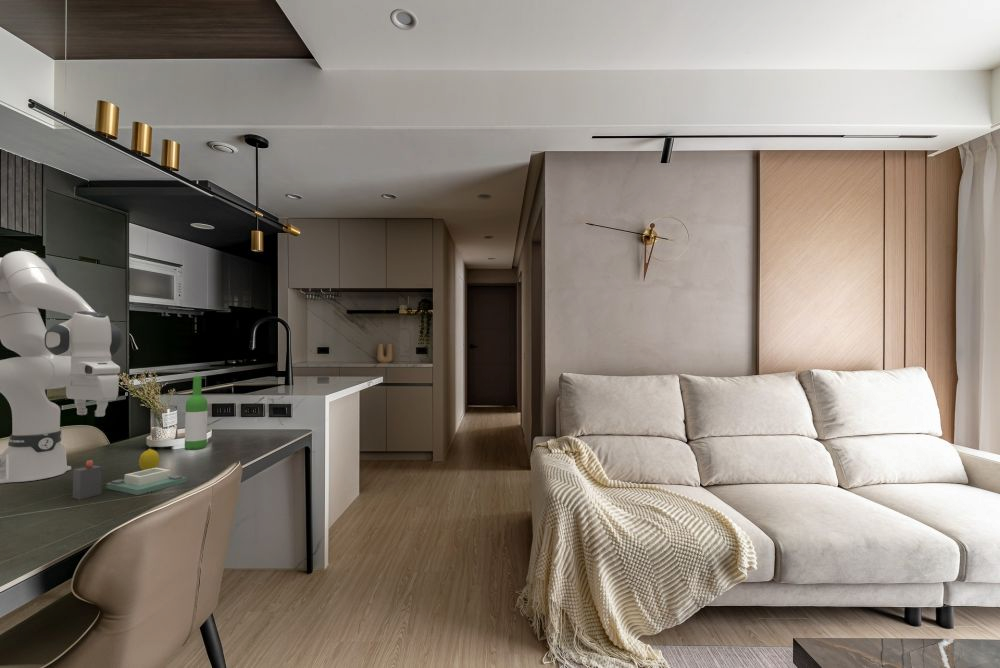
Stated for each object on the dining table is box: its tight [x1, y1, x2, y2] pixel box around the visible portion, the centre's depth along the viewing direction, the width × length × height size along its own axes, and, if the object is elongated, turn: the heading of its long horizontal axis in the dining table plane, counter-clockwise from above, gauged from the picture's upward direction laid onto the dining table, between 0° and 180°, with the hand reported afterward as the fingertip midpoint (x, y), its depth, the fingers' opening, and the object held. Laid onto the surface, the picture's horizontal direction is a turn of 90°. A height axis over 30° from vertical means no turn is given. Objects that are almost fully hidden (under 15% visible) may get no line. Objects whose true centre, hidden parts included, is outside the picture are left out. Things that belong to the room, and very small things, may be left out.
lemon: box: [138, 448, 160, 471], centre depth 158 cm, size 6×6×8 cm
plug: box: [72, 459, 103, 500], centre depth 134 cm, size 4×6×10 cm, turn 158°
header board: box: [106, 467, 187, 496], centre depth 144 cm, size 15×14×4 cm
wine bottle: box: [184, 375, 208, 451], centre depth 195 cm, size 8×8×30 cm
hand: (90, 415), depth 134 cm, fingers open, 8 cm apart
